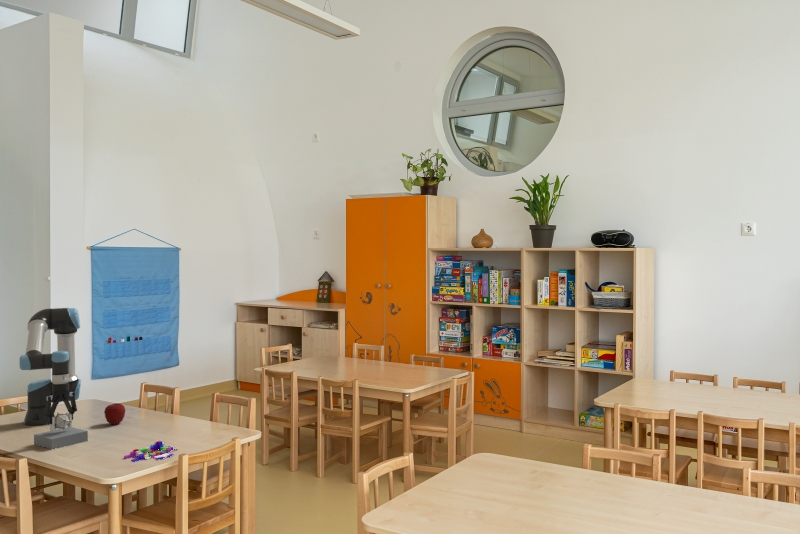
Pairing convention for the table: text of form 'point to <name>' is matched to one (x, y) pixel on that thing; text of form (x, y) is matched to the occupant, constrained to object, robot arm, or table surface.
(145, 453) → the building block set
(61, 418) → the game die
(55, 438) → the plinth
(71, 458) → the table surface
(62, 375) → the robot arm
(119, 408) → the apple
